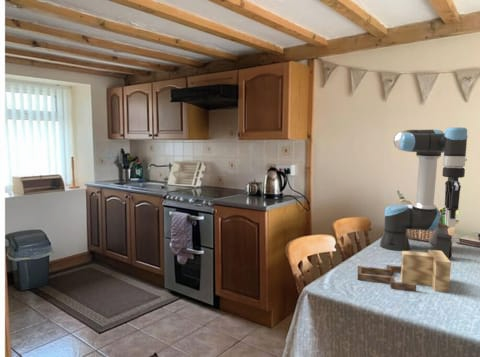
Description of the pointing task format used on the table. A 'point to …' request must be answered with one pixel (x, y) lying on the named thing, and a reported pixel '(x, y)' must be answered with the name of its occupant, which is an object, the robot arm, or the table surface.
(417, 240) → the table surface
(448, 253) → the phone stand
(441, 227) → the coffee pot
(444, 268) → the oak T block
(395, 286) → the walnut T frame
